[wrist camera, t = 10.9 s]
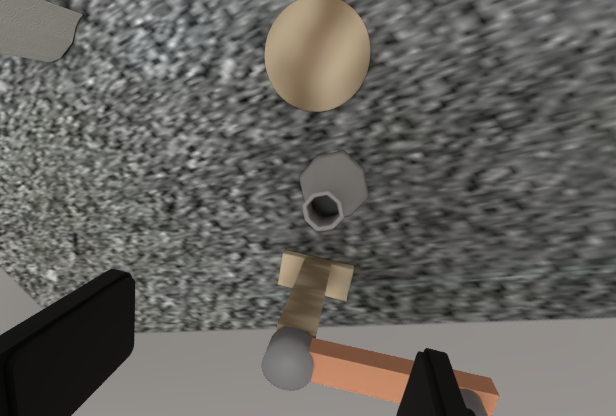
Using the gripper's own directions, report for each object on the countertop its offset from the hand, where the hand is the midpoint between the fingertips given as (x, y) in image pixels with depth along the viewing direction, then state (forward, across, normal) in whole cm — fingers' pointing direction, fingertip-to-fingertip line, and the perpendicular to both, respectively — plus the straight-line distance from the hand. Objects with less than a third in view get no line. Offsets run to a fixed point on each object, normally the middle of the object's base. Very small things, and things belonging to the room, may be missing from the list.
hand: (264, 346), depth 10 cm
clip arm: (+12, -6, +10) cm, 17 cm away
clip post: (+25, 0, +10) cm, 27 cm away
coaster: (+25, +4, -12) cm, 28 cm away
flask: (+26, 0, 0) cm, 26 cm away
